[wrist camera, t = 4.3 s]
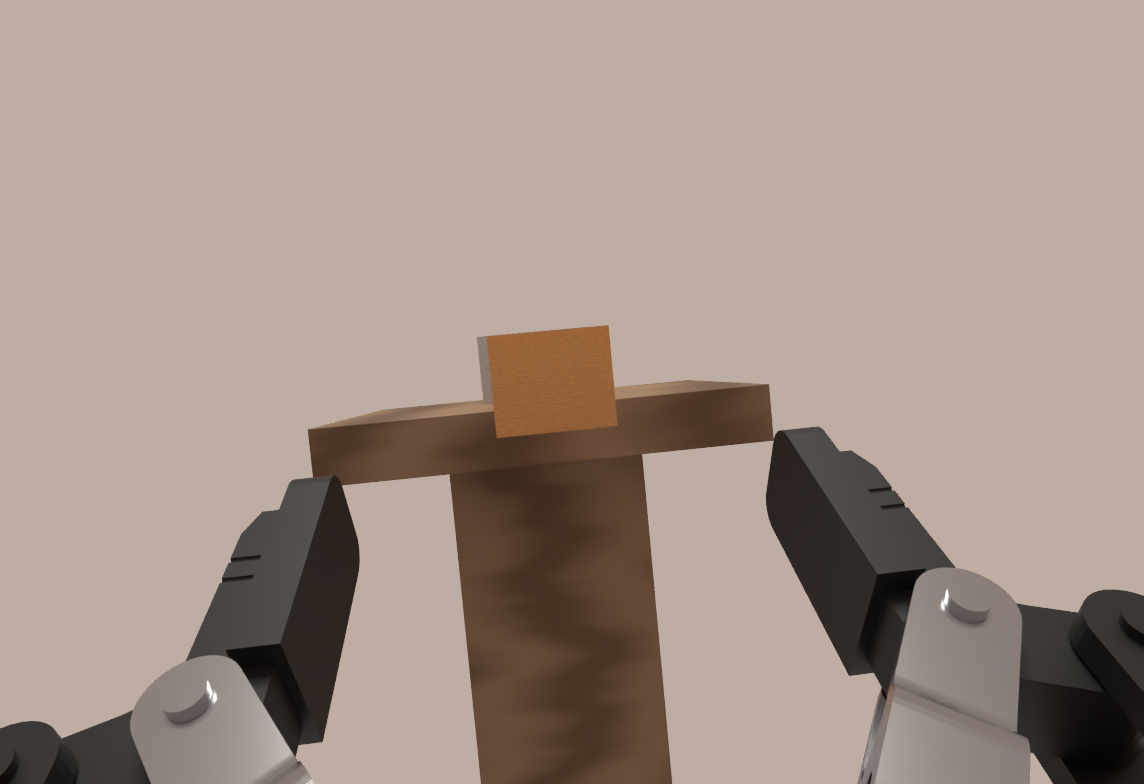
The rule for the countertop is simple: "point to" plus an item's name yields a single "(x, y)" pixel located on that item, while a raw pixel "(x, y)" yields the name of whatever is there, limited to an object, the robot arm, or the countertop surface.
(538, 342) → the wooden handled hammer
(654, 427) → the wooden pedestal
